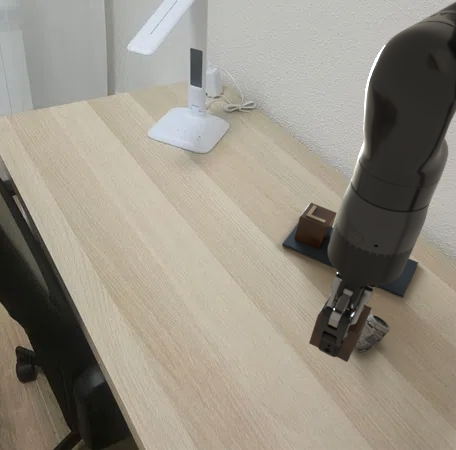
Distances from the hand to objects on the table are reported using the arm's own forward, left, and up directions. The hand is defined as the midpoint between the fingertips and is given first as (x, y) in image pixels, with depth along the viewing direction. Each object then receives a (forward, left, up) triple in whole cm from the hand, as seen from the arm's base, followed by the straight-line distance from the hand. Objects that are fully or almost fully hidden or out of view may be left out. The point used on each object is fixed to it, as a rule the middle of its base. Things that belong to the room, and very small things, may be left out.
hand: (336, 336), depth 64 cm
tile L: (+12, -28, -11) cm, 32 cm away
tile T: (0, 0, -1) cm, 1 cm away
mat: (+5, -28, -11) cm, 30 cm away
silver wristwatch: (-3, -11, -11) cm, 16 cm away
